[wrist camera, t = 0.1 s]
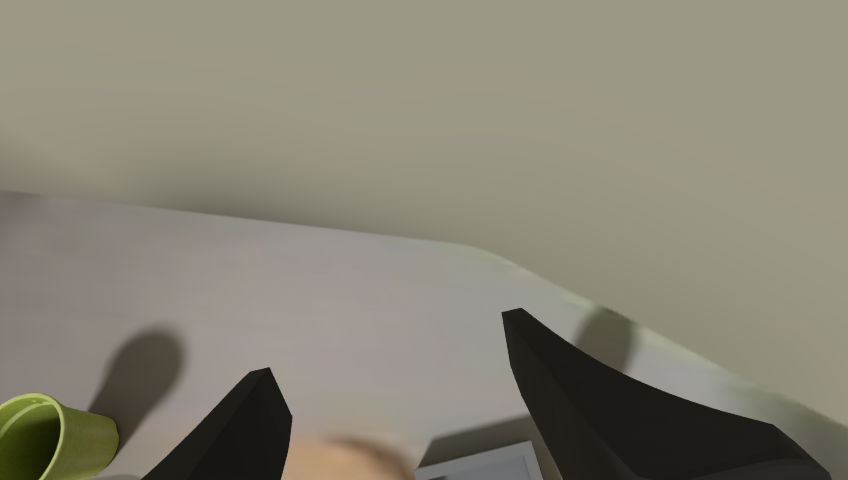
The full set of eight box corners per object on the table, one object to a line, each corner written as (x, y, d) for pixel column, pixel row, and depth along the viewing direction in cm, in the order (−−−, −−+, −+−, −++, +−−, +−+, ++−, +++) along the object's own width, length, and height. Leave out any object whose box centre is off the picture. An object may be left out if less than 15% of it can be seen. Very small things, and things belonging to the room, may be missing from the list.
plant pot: (77, 394, 46) (-4, 386, 38) (149, 405, 44) (81, 399, 37) (33, 489, 42) (-66, 502, 34) (111, 504, 41) (26, 521, 33)
